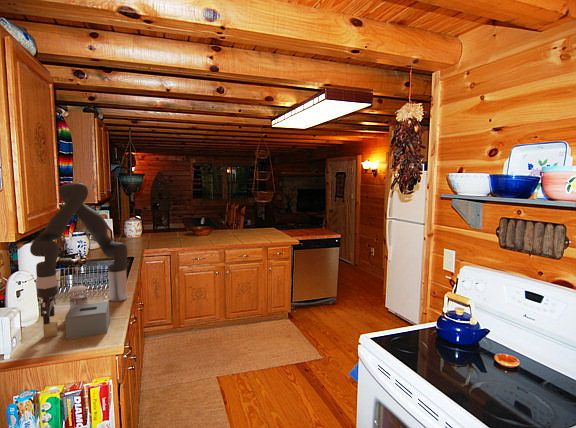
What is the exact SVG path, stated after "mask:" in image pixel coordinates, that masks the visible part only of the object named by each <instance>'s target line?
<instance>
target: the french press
mask: <svg viewBox="0 0 576 428" xmlns="http://www.w3.org/2000/svg"><path fill="white" fill-rule="evenodd" d="M79 270H80V268H79V267H75V268H74V271H79ZM76 278H77V279H76V282H77V285H74V286H72V287H70V288H69V289H68V292H69V293H77V294H74V295H72V296H70V298H69V299H70V300H69V308H70V307H71V306H72V305H81V304H89V302H88V297H87V294H84V293H82V292H84V291H86V290H87V289H88V287H87V286H85V285H82V284H80V285H79V278H78V274H76Z"/></svg>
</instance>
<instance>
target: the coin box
mask: <svg viewBox="0 0 576 428" xmlns="http://www.w3.org/2000/svg"><path fill="white" fill-rule="evenodd" d="M110 321H111V317H110V300H109V301H101V302H93V303H87V304H86V303H84V304H81V305H71V307H70V306H69V308H68V311H67V313H66V315H65V316H64V322H65V334H66V335H65V337H66V339H67V340H69V339H75V338H81V337H90V336H96V335H97V336H98V335H103V334H107V333H108V331H109V325H110Z"/></svg>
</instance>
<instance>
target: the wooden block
mask: <svg viewBox="0 0 576 428" xmlns="http://www.w3.org/2000/svg"><path fill="white" fill-rule="evenodd" d="M58 327H59V326H58V320H57V321H56V320H55V321H50V323H49V324H42V329H43V331H42V332H43V338H49V337H57V336H58V335H59V328H58Z"/></svg>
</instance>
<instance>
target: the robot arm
mask: <svg viewBox="0 0 576 428" xmlns="http://www.w3.org/2000/svg"><path fill="white" fill-rule="evenodd" d="M58 195H59V197H60V199H61V200H62V201H63V203H65V205H64V206H63V207H62V208H60V209H59V210H58V211H57V212H56V213H54V215H53V216H52V217H51V218H50V220H49V221H48V223H47V225H46V226H45V228H44V230H43V231H42V232H41V233H40V234H39V235H38V236H37V237H35V239H34V240H32V243H31V244H30V247H29V251H30V254H31V255H32V256H33V257H43V258H45V259H44V261H40V262H38V263H36V265H35V266H36V267H35V269H36V271H35V272H36V273H35V274H36V279H35V280H36V282H35V283H36V296H37V297H38V299H39V298H40V299H42V300H41V302H40V304H39V305H40V306H39V307H40V317H41V318H42V320H43V324H49V323H50V322H51V320H50V318H51V317H54V316H55V308H56V302H57V301H56V296H57V295H58V293H59V292H58V289H59V287H58V276H57V268H56V267H57V260H58V256H59V254H60V246H59V244H58V242H56V241H55V240H60V239H61V238H62V236H63V234H64V233H65V230H66V229H67V227H68V225H69V223H70V221H71V219H73V217H74V215H76V216H77V218H78V219H79V220H80V222H81V223H82V224H83V225H84V227H85V228H86V230H88V232H89V233H90V234H91V236H92V237H93V238H94V240H95V241H96V243H97V244H98V246H99V248H100V249H101V251H102V253H103V254H104V255H105V257H107V258H109V259H113V263H112V264H109V265H108V267H107V272H108V273H107V275H108V292H109V293H108V295H109V297H110V298H109V301H110V300H111V302H121V301H124V300H126V299H127V298H128V284H127V281H128V280H127V265H128V246H127V245H126V244H125V243H123V242H118V241H113V240H112V239H111V237H110V236H109V235H108V224H107V222H106V221H105V219H104V218H103V216H102V215H101V213H99V212H97V211H96V210H95V209H94V208H91V207H89V206H88V205H86V204H85V203H84V202H85V201H86V200H87V199H88V196H89V189H88V187H87V185H86V184H84V183H82V182H81V183H80V182H73V183H66V184H65V183H63V184H61V185H60V187H59V189H58ZM43 324H42V325H43Z"/></svg>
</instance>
